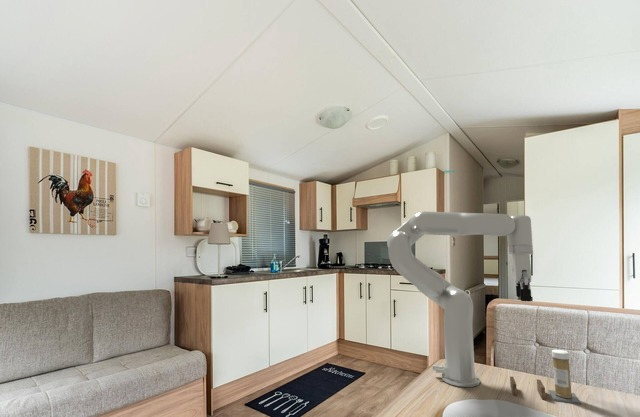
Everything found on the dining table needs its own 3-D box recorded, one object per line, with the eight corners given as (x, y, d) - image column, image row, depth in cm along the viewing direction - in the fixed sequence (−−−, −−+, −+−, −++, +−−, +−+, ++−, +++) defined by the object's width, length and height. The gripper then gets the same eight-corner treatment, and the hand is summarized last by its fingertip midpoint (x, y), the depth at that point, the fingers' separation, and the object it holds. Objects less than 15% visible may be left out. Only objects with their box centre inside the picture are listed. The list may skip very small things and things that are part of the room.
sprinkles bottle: (574, 396, 110) (571, 351, 112) (568, 400, 108) (564, 354, 109) (558, 391, 114) (555, 348, 116) (551, 394, 112) (548, 350, 113)
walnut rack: (513, 395, 113) (512, 383, 113) (510, 387, 119) (509, 376, 120) (545, 399, 110) (544, 387, 110) (540, 390, 116) (540, 379, 117)
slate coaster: (553, 400, 109) (553, 398, 109) (548, 391, 116) (548, 389, 116) (581, 404, 106) (580, 402, 107) (574, 395, 113) (574, 393, 113)
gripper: (506, 249, 137) (508, 295, 135) (512, 250, 121) (515, 302, 119) (528, 249, 134) (531, 296, 133) (537, 250, 118) (541, 303, 117)
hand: (523, 298), depth 126 cm, fingers open, 9 cm apart
